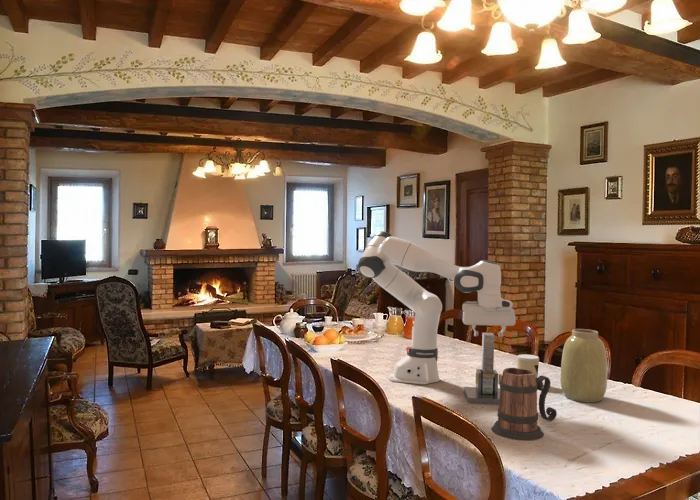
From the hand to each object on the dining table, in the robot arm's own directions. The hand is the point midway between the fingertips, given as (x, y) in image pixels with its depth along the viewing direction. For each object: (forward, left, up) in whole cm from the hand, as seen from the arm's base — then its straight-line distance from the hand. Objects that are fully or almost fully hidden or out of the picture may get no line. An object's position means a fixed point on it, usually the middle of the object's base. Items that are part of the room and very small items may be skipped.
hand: (488, 336), depth 223 cm
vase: (+39, +7, -25) cm, 47 cm away
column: (0, 0, -22) cm, 22 cm away
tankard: (+8, -36, -25) cm, 44 cm away
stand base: (0, 0, -25) cm, 25 cm away
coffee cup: (+21, +25, -25) cm, 41 cm away
